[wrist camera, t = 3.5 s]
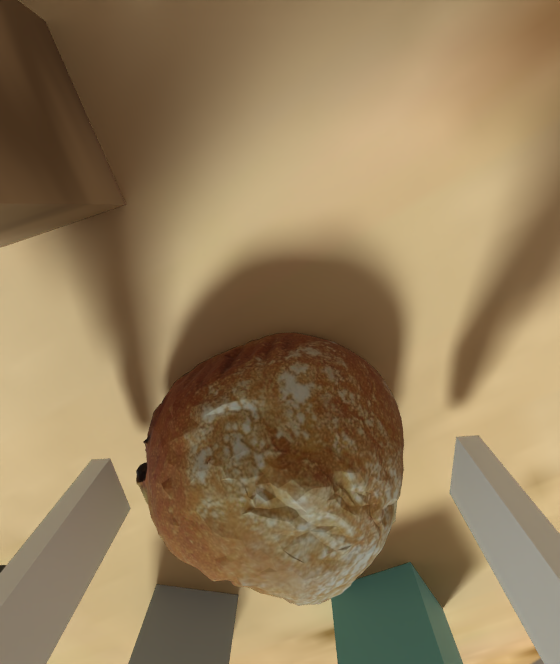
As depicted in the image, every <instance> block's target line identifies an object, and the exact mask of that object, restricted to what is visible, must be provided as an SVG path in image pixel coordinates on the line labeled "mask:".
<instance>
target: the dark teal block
mask: <svg viewBox="0 0 560 664" xmlns="http://www.w3.org/2000/svg"><path fill="white" fill-rule="evenodd" d="M331 600H332V610H333V620H334V630H335V640H336V650H337V659H338V664H463V662H462V659H461V657H460V654H459V651H458V649H457V646H456V643H455V641H454V638H453V635H452V633H451V630H450V627H449V625H448V622H447V619H446V617H445V614H444V611H443V609H442V607H441V606H440V604H439V603H438V601H437V600H436V599H435V597H434V596H433V594H432V593H431V591H430V590H429V588H428V587H427V586H426V584H425V583H424V581H423V580H422V578H421V577H420V575H419V574H418V572H417V571H416V570H415V568H414V567H413V565H412V564H411V562H409V563H406V564H403V565H400V566H397V567H393V568H390V569H387V570H384V571H381V572H378V573H375V574H371V575H368V576H365V577H362V578H359V579H356V580H355V581H354V582H352V584H351V586H350V587H348V588H347V589H346V590H345V591H344V592H343V593H342V594H340V595H337V596H335V597H333V598H331Z"/></svg>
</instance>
